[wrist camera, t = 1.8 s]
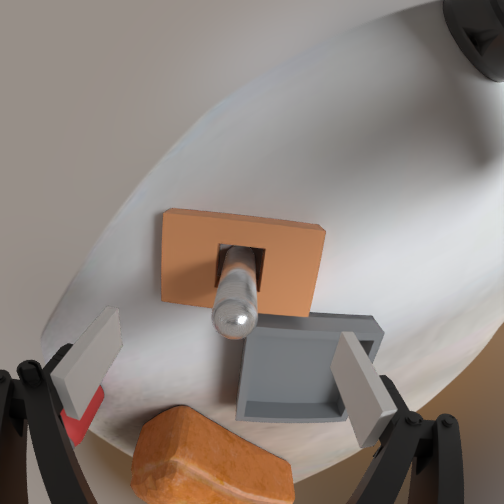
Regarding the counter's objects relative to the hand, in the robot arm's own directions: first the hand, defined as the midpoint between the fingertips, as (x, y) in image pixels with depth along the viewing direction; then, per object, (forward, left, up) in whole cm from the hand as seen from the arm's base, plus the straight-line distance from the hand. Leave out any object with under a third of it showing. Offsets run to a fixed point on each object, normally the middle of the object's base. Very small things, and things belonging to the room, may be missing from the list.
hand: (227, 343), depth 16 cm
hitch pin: (0, 0, -15) cm, 15 cm away
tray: (-9, +13, -15) cm, 22 cm away
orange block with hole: (0, 0, -15) cm, 15 cm away
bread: (0, +35, -15) cm, 38 cm away
